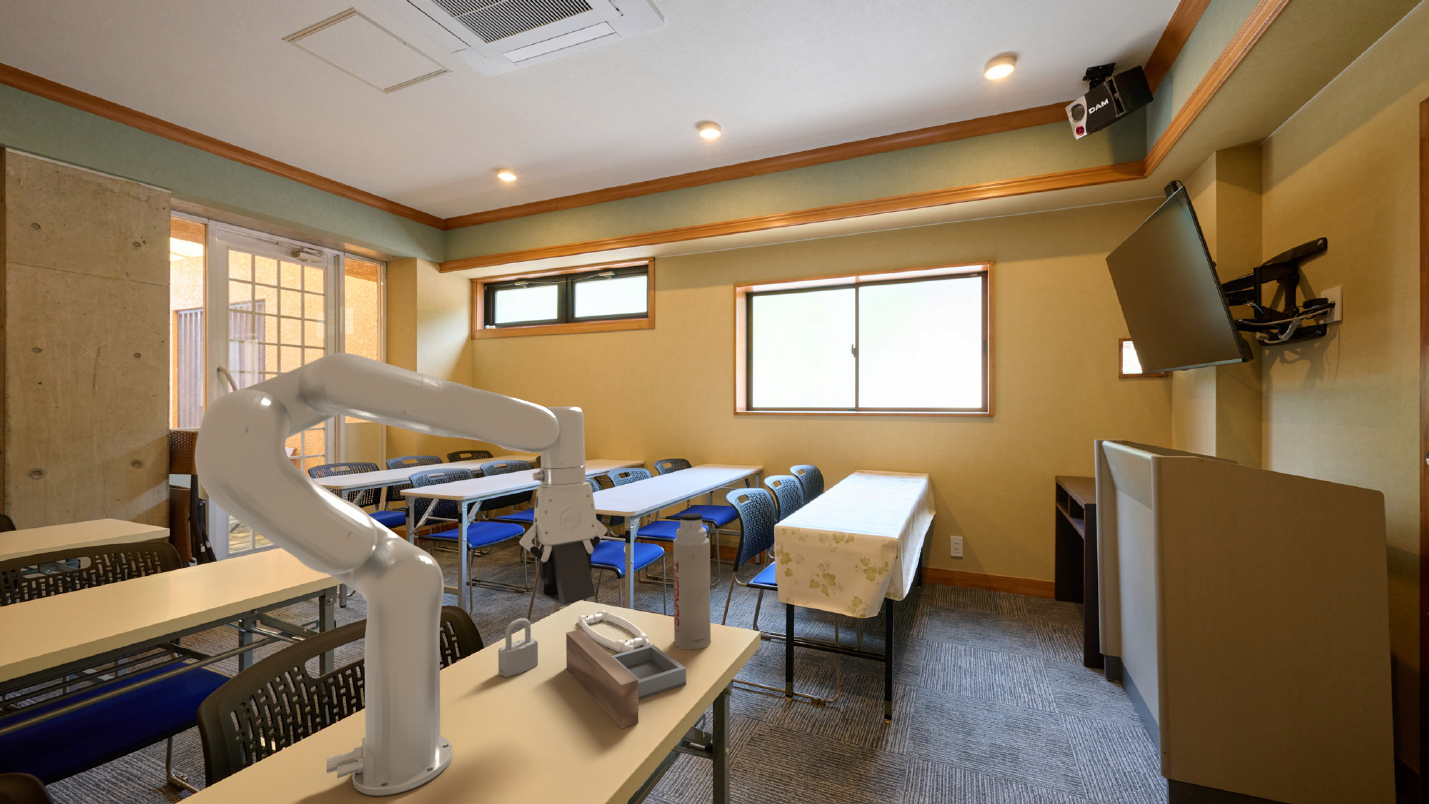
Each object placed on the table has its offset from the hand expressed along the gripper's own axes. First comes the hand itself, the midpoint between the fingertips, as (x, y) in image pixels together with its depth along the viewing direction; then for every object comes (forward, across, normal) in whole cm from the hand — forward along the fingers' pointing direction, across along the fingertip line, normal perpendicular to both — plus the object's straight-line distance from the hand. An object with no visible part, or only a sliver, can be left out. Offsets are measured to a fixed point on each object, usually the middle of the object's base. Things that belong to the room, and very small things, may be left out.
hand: (566, 577), depth 100 cm
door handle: (+23, +18, +23) cm, 37 cm away
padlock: (+22, -4, +18) cm, 29 cm away
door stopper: (+3, 0, 0) cm, 3 cm away
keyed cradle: (+22, +15, 0) cm, 27 cm away
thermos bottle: (+23, +31, +9) cm, 39 cm away
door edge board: (+22, +6, 0) cm, 23 cm away
